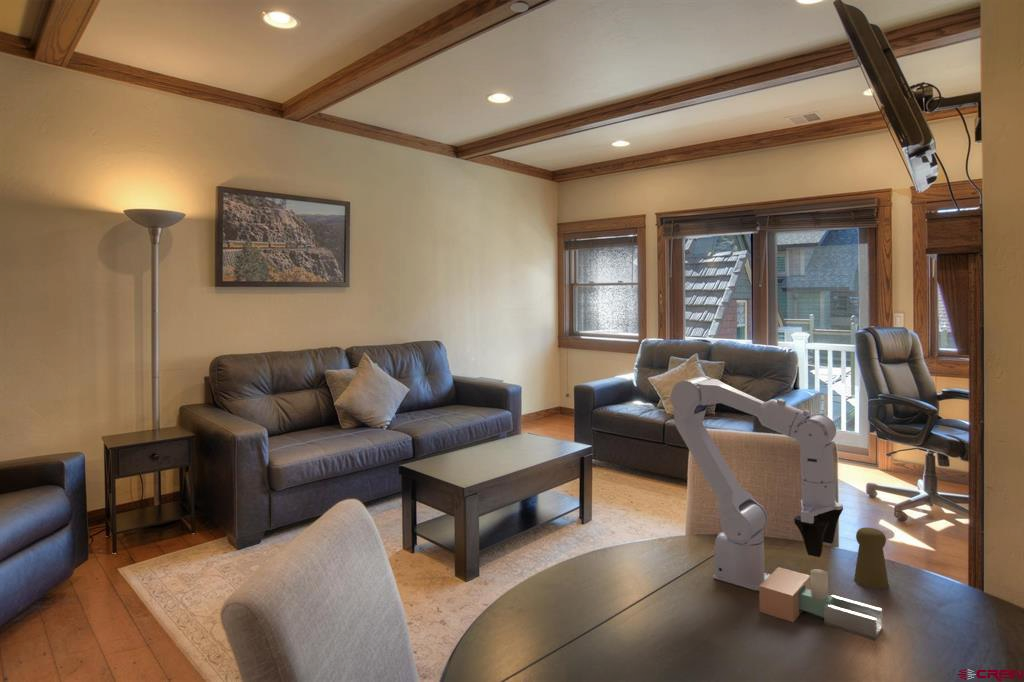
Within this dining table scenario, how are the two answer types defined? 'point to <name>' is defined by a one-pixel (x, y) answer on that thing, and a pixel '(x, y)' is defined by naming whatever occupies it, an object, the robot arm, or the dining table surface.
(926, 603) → the dining table surface
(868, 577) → the cork
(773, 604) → the socket block
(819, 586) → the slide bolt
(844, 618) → the grey u-channel
